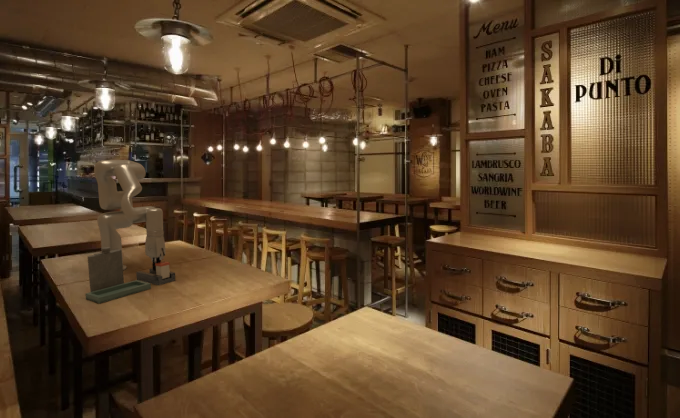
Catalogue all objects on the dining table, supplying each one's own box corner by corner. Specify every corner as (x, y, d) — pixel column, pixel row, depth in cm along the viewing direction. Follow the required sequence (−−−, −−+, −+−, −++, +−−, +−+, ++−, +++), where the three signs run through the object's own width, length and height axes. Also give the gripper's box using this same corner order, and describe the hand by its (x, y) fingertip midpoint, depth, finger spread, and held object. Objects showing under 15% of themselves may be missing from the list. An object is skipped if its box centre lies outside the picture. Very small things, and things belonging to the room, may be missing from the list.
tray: (85, 299, 172) (85, 293, 171) (137, 285, 191) (136, 279, 191) (99, 303, 166) (99, 297, 166) (151, 288, 185) (150, 283, 185)
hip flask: (120, 285, 191) (117, 243, 189) (126, 286, 190) (124, 244, 188) (89, 295, 177) (85, 250, 174) (95, 296, 175) (91, 251, 173)
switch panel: (136, 279, 200) (136, 271, 199) (153, 275, 207) (152, 267, 207) (158, 285, 190) (158, 277, 190) (175, 280, 198) (174, 272, 198)
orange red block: (155, 277, 195) (155, 263, 194) (164, 275, 199) (163, 261, 198) (161, 279, 192) (160, 264, 191) (170, 276, 196) (169, 262, 196)
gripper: (138, 232, 196) (140, 269, 198) (157, 236, 188) (159, 274, 191) (152, 230, 202) (154, 266, 205) (171, 234, 195) (173, 270, 197)
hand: (156, 270), depth 198 cm, fingers closed
